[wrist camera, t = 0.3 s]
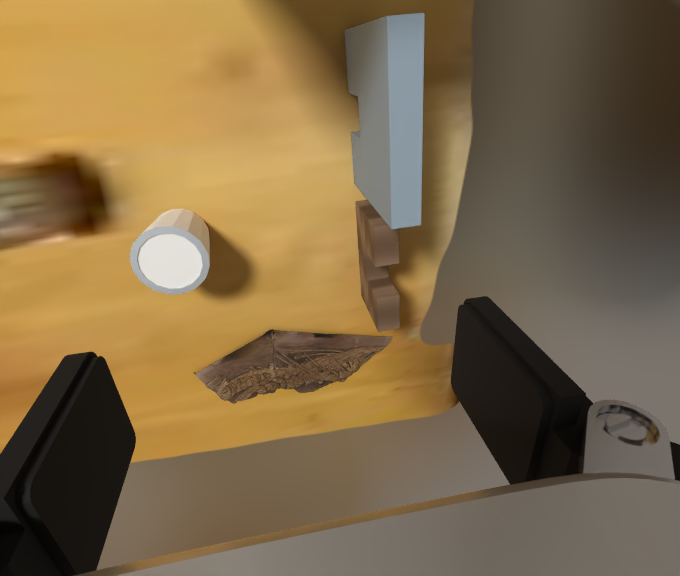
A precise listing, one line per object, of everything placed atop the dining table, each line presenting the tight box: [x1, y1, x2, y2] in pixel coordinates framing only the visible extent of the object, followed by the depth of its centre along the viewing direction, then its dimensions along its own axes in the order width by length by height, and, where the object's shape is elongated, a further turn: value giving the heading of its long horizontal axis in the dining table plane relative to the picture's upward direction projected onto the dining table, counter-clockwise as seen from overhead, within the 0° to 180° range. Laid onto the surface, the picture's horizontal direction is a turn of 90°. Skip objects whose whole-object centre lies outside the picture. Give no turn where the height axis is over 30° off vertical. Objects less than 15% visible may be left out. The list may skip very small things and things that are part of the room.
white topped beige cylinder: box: [130, 209, 210, 294], centre depth 41 cm, size 7×7×7 cm
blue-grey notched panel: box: [344, 13, 425, 229], centre depth 35 cm, size 14×2×14 cm, turn 5°
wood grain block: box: [355, 200, 400, 332], centre depth 45 cm, size 12×2×8 cm, turn 4°
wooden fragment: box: [195, 330, 393, 404], centre depth 54 cm, size 26×11×1 cm, turn 92°
